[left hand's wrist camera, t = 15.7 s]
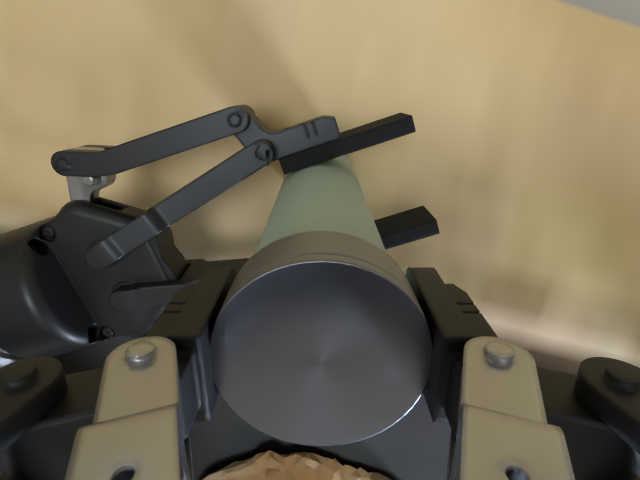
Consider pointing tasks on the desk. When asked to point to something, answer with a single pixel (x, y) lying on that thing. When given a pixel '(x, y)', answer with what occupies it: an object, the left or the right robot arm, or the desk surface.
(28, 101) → the desk surface
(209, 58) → the desk surface
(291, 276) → the lid
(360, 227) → the bottle
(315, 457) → the sculpture
